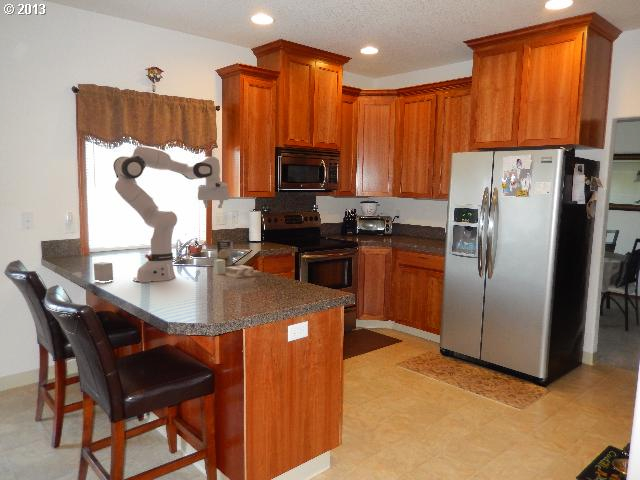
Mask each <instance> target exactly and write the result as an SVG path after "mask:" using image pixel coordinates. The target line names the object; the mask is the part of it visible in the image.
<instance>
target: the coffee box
mask: <svg viewBox="0 0 640 480" xmlns="http://www.w3.org/2000/svg"><path fill="white" fill-rule="evenodd" d="M216 246H217V247H216V248H217V260H219V259H222V260H225V266H233V264H234V256H233V255H234V249H233V248H234V247H233V246H234V241H233V240H223V239H222V240H217V245H216Z"/></svg>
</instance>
